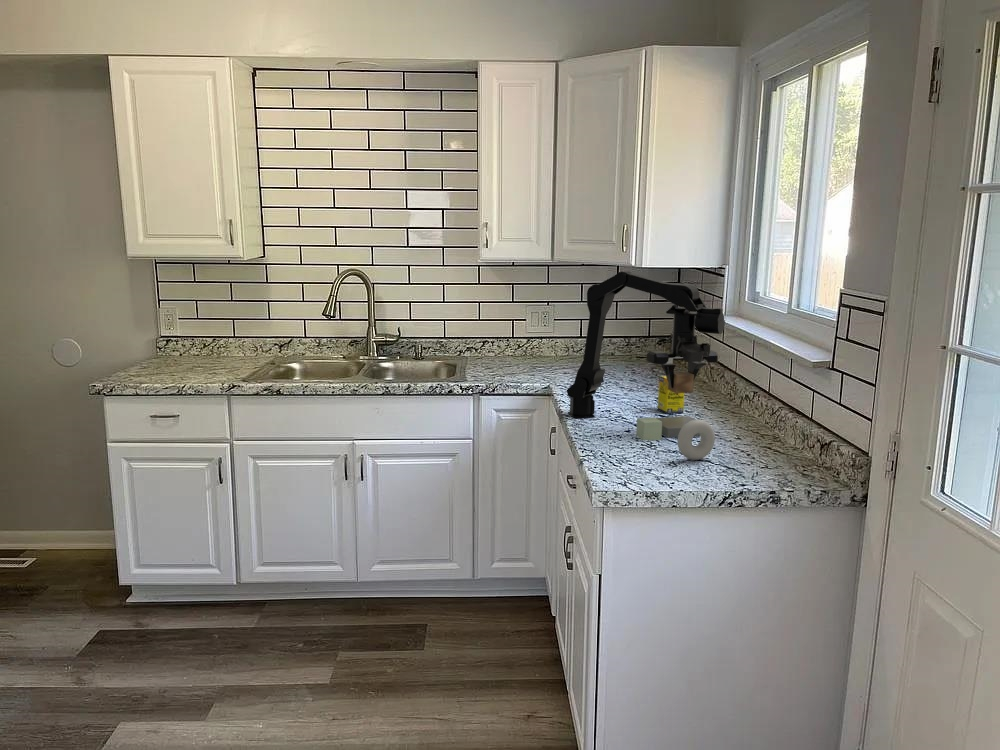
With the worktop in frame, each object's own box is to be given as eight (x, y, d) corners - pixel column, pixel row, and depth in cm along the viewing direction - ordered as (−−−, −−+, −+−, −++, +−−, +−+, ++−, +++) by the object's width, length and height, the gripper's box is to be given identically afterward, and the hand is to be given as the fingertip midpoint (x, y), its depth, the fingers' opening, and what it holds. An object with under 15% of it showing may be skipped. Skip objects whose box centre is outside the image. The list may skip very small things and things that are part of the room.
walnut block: (675, 393, 207) (676, 375, 206) (668, 389, 212) (669, 371, 211) (692, 392, 208) (694, 374, 207) (684, 388, 213) (685, 371, 212)
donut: (708, 455, 189) (710, 416, 187) (716, 459, 185) (719, 419, 184) (673, 459, 185) (675, 419, 183) (681, 463, 182) (683, 423, 180)
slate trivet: (667, 437, 205) (668, 428, 204) (649, 426, 216) (649, 418, 216) (708, 435, 207) (709, 426, 207) (688, 424, 219) (689, 416, 218)
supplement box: (666, 414, 231) (668, 379, 229) (657, 410, 237) (658, 375, 235) (683, 413, 233) (685, 378, 231) (674, 409, 238) (676, 374, 236)
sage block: (643, 441, 202) (644, 422, 201) (636, 436, 207) (637, 418, 206) (661, 440, 203) (662, 421, 202) (653, 435, 208) (654, 417, 207)
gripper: (664, 335, 197) (661, 394, 200) (730, 334, 201) (726, 392, 204) (647, 330, 208) (644, 386, 211) (709, 329, 212) (706, 384, 215)
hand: (680, 387), depth 210 cm, fingers closed on walnut block, 5 cm apart
